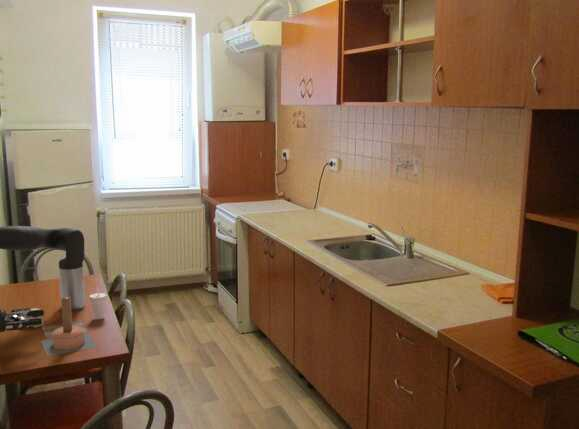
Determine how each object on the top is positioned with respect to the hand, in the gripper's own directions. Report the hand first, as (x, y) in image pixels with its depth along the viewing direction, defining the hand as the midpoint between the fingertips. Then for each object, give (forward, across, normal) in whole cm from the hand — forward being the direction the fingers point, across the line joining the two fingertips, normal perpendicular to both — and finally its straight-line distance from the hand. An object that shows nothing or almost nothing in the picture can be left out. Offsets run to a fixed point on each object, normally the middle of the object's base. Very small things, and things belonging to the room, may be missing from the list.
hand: (42, 316), depth 190 cm
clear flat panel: (+5, +15, +11) cm, 19 cm away
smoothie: (+18, +24, +12) cm, 32 cm away
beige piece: (-5, +25, +12) cm, 28 cm away
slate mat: (+8, 0, +11) cm, 14 cm away
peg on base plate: (+8, 0, +11) cm, 13 cm away
